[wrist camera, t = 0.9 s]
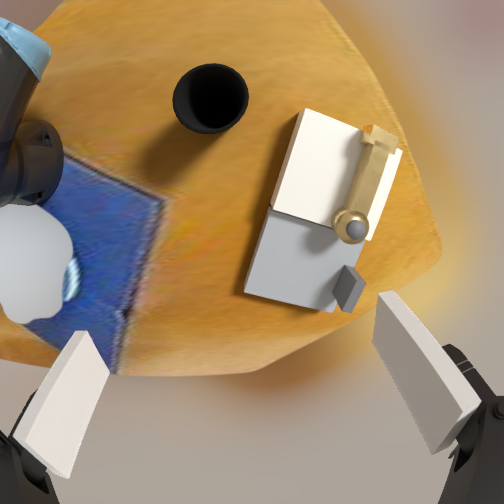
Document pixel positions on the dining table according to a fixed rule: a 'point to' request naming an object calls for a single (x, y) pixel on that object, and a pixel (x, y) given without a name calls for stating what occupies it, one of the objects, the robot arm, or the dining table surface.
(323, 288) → the doorframe
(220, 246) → the dining table surface
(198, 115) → the cup
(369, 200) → the bar
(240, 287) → the dining table surface
